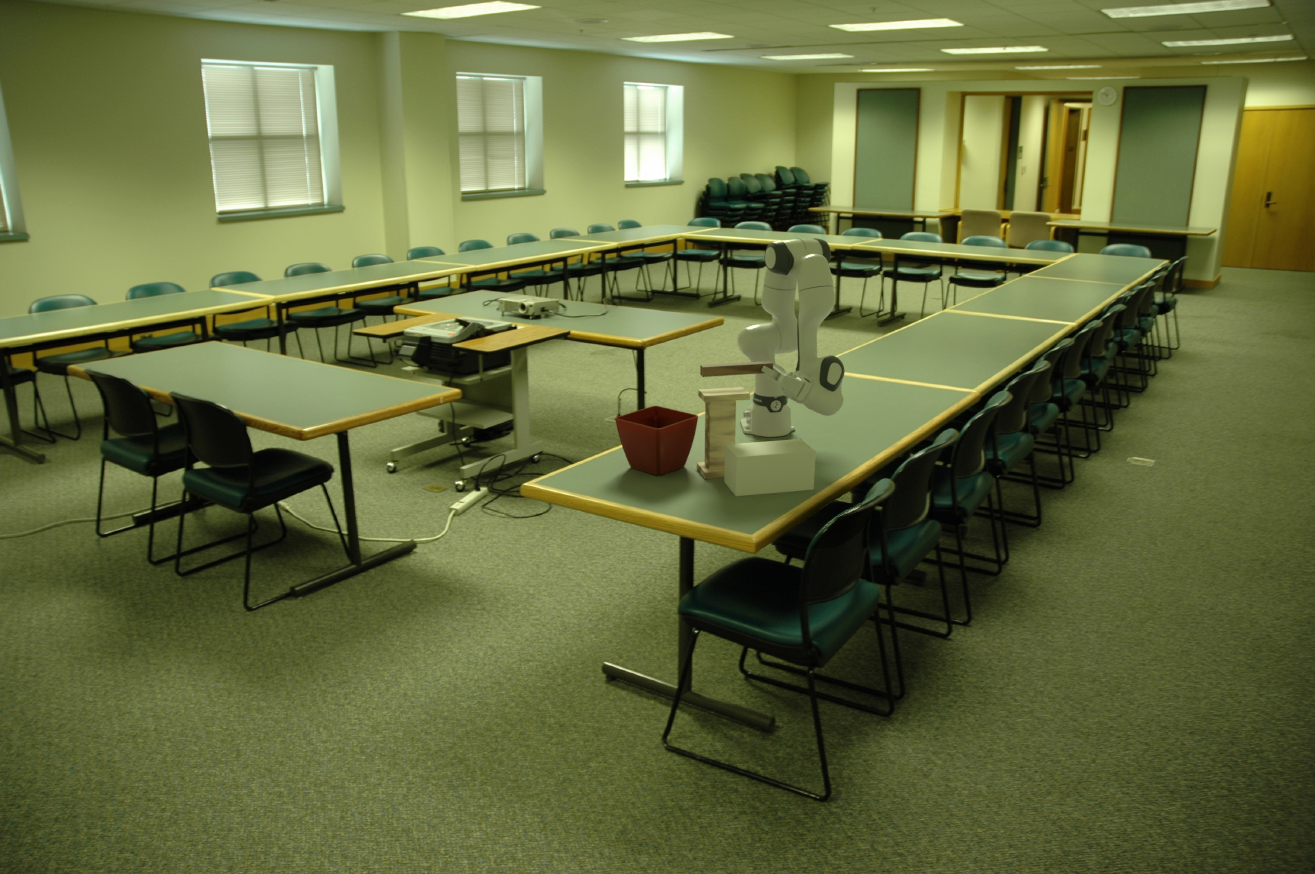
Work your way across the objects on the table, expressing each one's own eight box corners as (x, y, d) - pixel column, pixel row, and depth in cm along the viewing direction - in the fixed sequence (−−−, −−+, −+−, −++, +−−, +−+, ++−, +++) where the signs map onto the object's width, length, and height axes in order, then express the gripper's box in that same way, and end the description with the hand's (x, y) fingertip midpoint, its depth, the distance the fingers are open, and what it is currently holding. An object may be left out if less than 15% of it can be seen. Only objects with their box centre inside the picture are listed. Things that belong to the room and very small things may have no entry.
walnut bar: (700, 374, 278) (700, 364, 277) (769, 370, 282) (769, 360, 281) (702, 377, 275) (702, 367, 274) (772, 372, 279) (773, 363, 278)
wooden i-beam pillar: (696, 468, 290) (697, 388, 282) (739, 464, 293) (741, 386, 285) (705, 479, 281) (705, 396, 273) (748, 475, 284) (750, 394, 276)
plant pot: (614, 467, 291) (613, 417, 286) (655, 453, 305) (655, 404, 299) (658, 482, 279) (658, 429, 274) (699, 466, 292) (699, 415, 287)
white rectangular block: (724, 482, 278) (725, 444, 275) (799, 476, 283) (800, 438, 279) (735, 496, 267) (736, 457, 263) (813, 489, 272) (815, 451, 268)
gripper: (789, 369, 293) (754, 349, 288) (813, 385, 274) (775, 364, 269) (779, 386, 294) (744, 367, 289) (802, 403, 275) (765, 383, 270)
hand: (759, 366), depth 279 cm, fingers closed on walnut bar, 3 cm apart
